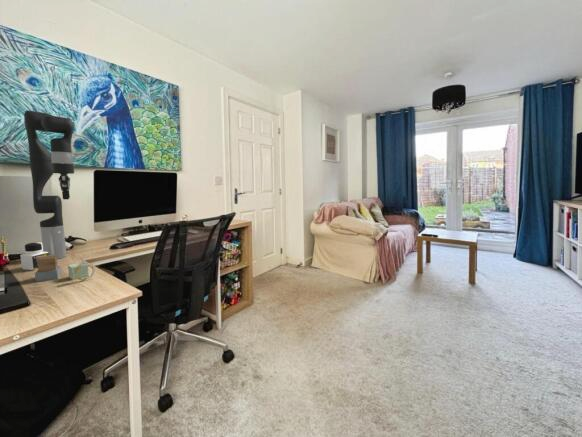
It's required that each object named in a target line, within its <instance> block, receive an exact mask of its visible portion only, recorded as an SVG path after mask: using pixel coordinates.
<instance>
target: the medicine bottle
mask: <svg viewBox="0 0 582 437" xmlns="http://www.w3.org/2000/svg"><path fill="white" fill-rule="evenodd" d="M24 252H25V253H22V254H20V263H21V269H22V270H24V271H25V270H26V271H38V263H37V259H38V258H39V257H40V256H48V255H49V253H48V252H43V245H42V242H39V241H38V242H28V243H26V244H25V245H24Z"/></svg>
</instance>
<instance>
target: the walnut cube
mask: <svg viewBox="0 0 582 437" xmlns="http://www.w3.org/2000/svg"><path fill="white" fill-rule="evenodd" d="M37 263H38V270H37V271H39V272H46V271H53V270H56V269H57V267H58V259H57V257H56V255H48V256H40V257H39V258H38V259H37Z"/></svg>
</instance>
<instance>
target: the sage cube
mask: <svg viewBox="0 0 582 437" xmlns="http://www.w3.org/2000/svg"><path fill="white" fill-rule="evenodd" d="M81 262H82V263H83V262H84V261H81ZM81 262H77V263H73V264H68V265H67V272H68V277H69V278H70V280H72V281H76V280H78V279H77V278H76V277H75V276H74V270H75V268H76V266H77V265H78V264H80V263H81ZM76 275H77V277H79V278H81V279H84V278H88V277H90V275H89V266H87V265H85V266H82V267H81V268H80V269H79V270H78V271H77V273H76Z"/></svg>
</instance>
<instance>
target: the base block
mask: <svg viewBox="0 0 582 437" xmlns="http://www.w3.org/2000/svg"><path fill="white" fill-rule="evenodd" d="M57 266H58V265H57ZM62 274H63V273H62V266H61V265H59V266H58V267H57V269H56V270H53V271H46V272H39V271H38V270H36V271H35V272H34V279H35V283H37V282H46V281H53V280H58V279H59V278H60V277H61V276H62Z"/></svg>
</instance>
